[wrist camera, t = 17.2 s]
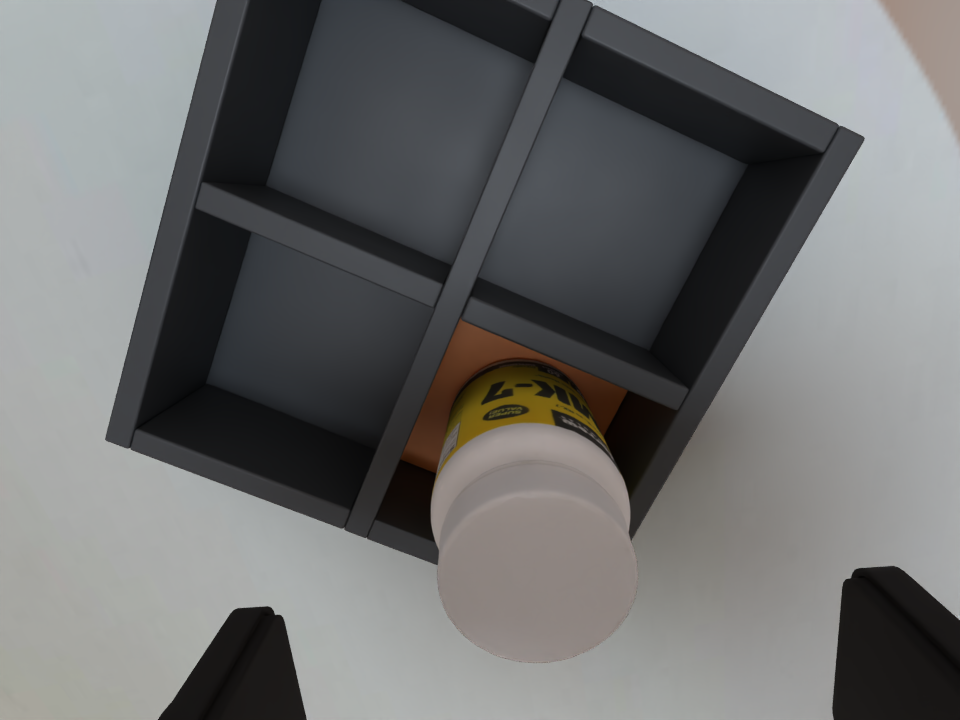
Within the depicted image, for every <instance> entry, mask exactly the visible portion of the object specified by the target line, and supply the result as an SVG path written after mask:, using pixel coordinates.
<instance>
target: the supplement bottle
mask: <svg viewBox="0 0 960 720" xmlns="http://www.w3.org/2000/svg"><path fill="white" fill-rule="evenodd" d="M431 525H432V531H433V535H434V539H435V542H436V544H437V547H438V549H439V559H438V570H437V580H438V589H439V594H440V598H441V601H442V604H443V606H444V609H445V611H446V613H447V615H448V617H449V618H450V620H451V621H452V622H453V624H454V625H455V626H456V628H457V629H458V630H459V631H460V632H461V633H462V634H463V635H464V636H465V637H466V638H467V639H469V640H470V641H471V642H473V643H474V644H475V645H477V646H478V647H480V648H482V649H484V650H486V651H487V652H489V653H491V654H493V655H496V656H499V657H502V658H505V659H510V660H514V661H519V662H528V663H546V662H554V661H559V660H565V659H568V658H572V657H575V656H577V655H579V654H581V653H584V652H586V651H588V650H590V649H592V648H594V647H596V646H597V645H599V644H600V643H602V642H603V641H604V640H606V639H607V638H608V637H610V636H611V635H612V634H613V633H614V632H615V631H616V629H617V628H618V627H619V626H620V625H621V623H622V622H623V621H624V619H625V618H626V616H627V615H628V613H629V611H630V609H631V607H632V604H633V602H634V599H635V596H636V592H637V586H638V566H637V559H636V555H635V551H634V548H633V545H632V542H631V540H630V536H629V533H628V532H629V525H630V503H629V497H628V492H627V489H626V485H625V482H624V479H623V477H622V475H621V473H620V470H619V468H618V466H617V464H616V462H615V461H614V459H613V456H612V454H611V452H610V450H609V448H608V446H607V444H606V442H605V439H604V437H603V435H602V433H601V431H600V430H599V427H598V425H597V423H596V421H595V419H594V417H593V414H592V412H591V411H590V408H589V406H588V404H587V402H586V400H585V398H584V396H583V395H582V393H581V392H580V390H579V388H578V387H577V386H576V385H575V383H574V382H573V381H572V380H571V379H570V378H569V377H568V376H566V375H565V374H564V373H563V372H561V371H560V370H558V369H556V368H554V367H553V366H550V365H548V364H545V363H542V362H539V361H534V360H526V359H513V360H505V361H501V362H497V363H494V364H491V365H489V366H487V367H485V368H483V369H481V370H480V371H478V372H477V373H475V374H474V375H473V376H472V377H471V378H470V379H469V380H468V381H467V382H466V383H465V384H464V385H463V386H462V388H461V389H460V391H459V392H458V394H457V396H456V397H455V400H454V402H453V405H452V407H451V411H450V415H449V420H448V424H447V428H446V433H445V438H444V442H443V447H442V451H441V456H440V460H439V465H438V469H437V474H436V479H435V483H434V487H433V492H432V498H431Z"/></svg>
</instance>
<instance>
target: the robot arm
mask: <svg viewBox="0 0 960 720" xmlns="http://www.w3.org/2000/svg"><path fill="white" fill-rule="evenodd" d="M832 710H833V718H834V720H960V620H959V619H958V618H956V617H955V616H954V615H953V614H952V613H951V612H950V611H949V610H947V609H946V608H945V607H944V606H943V605H942V604H941V603H940V602H938V601H937V600H936V599H935V598H934V597H933V596H932V595H930V594H929V593H928V592H927V591H926V590H925V589H924V588H923V587H921V586H920V585H919V584H918V583H917V582H916V581H915V580H914V579H912V578H911V577H910V576H909V575H908V574H907V573H906V572H904V571H903V570H902V569H900V568H899V567H895V566H887V567H872V568H859V569H856V570H854V572H853V573H852V577H851V579H846V580H845V581H844V582H843V587H842V599H841V611H840V623H839V635H838V647H837V659H836V671H835V683H834V695H833V707H832ZM158 720H307V719H306V715H305V710H304V706H303V701H302V697H301V692H300V688H299V684H298V679H297V675H296V670H295V666H294V662H293V657H292V653H291V648H290V644H289V640H288V635H287V631H286V626H285V622H284V619H283V617H282V616H281V615H275V614H274V611H273V609H272V608H271V607H268V606H267V607H252V608H237V609H235V610H233V612H232V613H231V614H230V615H229V617H228V618H227V620H226V621H225V623H224V624H223V626H222V627H221V629H220V630H219V632H218V633H217V635H216V636H215V638H214V639H213V641H212V642H211V644H210V645H209V647H208V648H207V650H206V651H205V653H204V654H203V656H202V657H201V659H200V660H199V662H198V663H197V665H196V666H195V668H194V669H193V671H192V672H191V674H190V675H189V677H188V678H187V680H186V681H185V683H184V684H183V686H182V688H181V689H180V691H179V692H178V694H177V695H176V697H175V698H174V700H173V701H172V703H170V705H169V706H168V707H167V708H166V709H165V711H164V712H163V713H162V714H161V716H160V717H159V719H158Z"/></svg>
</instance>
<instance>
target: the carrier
mask: <svg viewBox="0 0 960 720" xmlns="http://www.w3.org/2000/svg"><path fill="white" fill-rule="evenodd" d="M838 126H839V125H838V124H837V123H835V122H833V121H831V120H829V119H827V118H825V117H823V116H821V115H819V114H817V113H815V112H813V111H810V110H808V109H806V108H804V107H802V106H800V105H798V104H796V103H794V102H792V101H790V100H788V99H786V98H784V97H782V96H780V95H778V94H776V93H774V92H772V91H770V90H768V89H766V88H764V87H762V86H760V85H758V84H756V83H753V82H751V81H749V80H747V79H745V78H743V77H741V76H739V75H737V74H735V73H733V72H731V71H729V70H727V69H725V68H723V67H721V66H719V65H717V64H715V63H713V62H711V61H709V60H707V59H705V58H703V57H701V56H698V55H696V54H694V53H692V52H690V51H688V50H686V49H684V48H682V47H680V46H678V45H676V44H674V43H672V42H670V41H668V40H666V39H664V38H662V37H660V36H658V35H656V34H654V33H652V32H650V31H648V30H646V29H643V28H641V27H639V26H637V25H635V24H633V23H631V22H629V21H627V20H625V19H623V18H621V17H619V16H617V15H615V14H613V13H611V12H609V11H607V10H605V9H603V8H601V7H599V6H593V4H592V2H590V1H588V0H217V2H216V6H215V10H214V14H213V18H212V22H211V25H210V29H209V33H208V37H207V41H206V45H205V49H204V53H203V57H202V61H201V65H200V69H199V73H198V76H197V80H196V84H195V88H194V92H193V96H192V100H191V104H190V108H189V112H188V116H187V120H186V124H185V128H184V131H183V135H182V139H181V143H180V147H179V151H178V155H177V159H176V163H175V167H174V171H173V175H172V179H171V182H170V186H169V190H168V194H167V198H166V202H165V206H164V210H163V214H162V218H161V222H160V226H159V230H158V234H157V237H156V241H155V245H154V249H153V253H152V257H151V261H150V265H149V269H148V273H147V277H146V281H145V285H144V288H143V292H142V296H141V300H140V304H139V308H138V312H137V316H136V320H135V324H134V328H133V332H132V336H131V340H130V343H129V347H128V351H127V355H126V359H125V363H124V367H123V371H122V375H121V379H120V383H119V387H118V391H117V394H116V398H115V402H114V406H113V410H112V414H111V418H110V422H109V426H108V430H107V434H106V438H105V440H106V441H108V442H111V443H114V444H116V445H119V446H122V447H124V448H131V450H133V451H136V452H138V453H141V454H144V455H146V456H149V457H152V458H154V459H157V460H160V461H162V462H165V463H168V464H170V465H173V466H176V467H178V468H181V469H184V470H186V471H189V472H192V473H194V474H197V475H200V476H202V477H205V478H208V479H210V480H213V481H216V482H218V483H221V484H224V485H226V486H229V487H232V488H234V489H237V490H240V491H242V492H245V493H248V494H250V495H253V496H256V497H258V498H261V499H264V500H266V501H269V502H272V503H274V504H277V505H280V506H282V507H285V508H288V509H291V510H293V511H296V512H299V513H301V514H304V515H307V516H309V517H312V518H315V519H317V520H320V521H323V522H325V523H328V524H331V525H333V526H336V527H339V528H344V527H345V531H348V532H351V533H353V534H356V535H359V536H361V537H364V538H366V537H367V539H369V540H372V541H375V542H377V543H380V544H383V545H385V546H388V547H391V548H393V549H396V550H399V551H401V552H404V553H407V554H409V555H412V556H415V557H417V558H420V559H423V560H425V561H428V562H431V563H433V564H436V565H438V559H439V549H438V547H437V544H436V542H435V539H434V535H433V531H432V525H431V498H432V492H433V487H434V483H435V479H436V474H437V469H438V465H439V460H440V456H441V451H442V447H443V442H444V438H445V433H446V428H447V424H448V420H449V415H450V411H451V407H452V405H453V402H454V400H455V397H456V396H457V394H458V392H459V391H460V389H461V388H462V386H463V385H464V384H465V383H466V382H467V381H468V380H469V379H470V378H471V377H472V376H473V375H474V374H475V373H477V372H478V371H480V370H481V369H483V368H485V367H487V366H489V365H491V364H494V363H497V362H501V361H505V360H513V359H526V360H534V361H539V362H542V363H545V364H548V365H550V366H553V367H554V368H556V369H558V370H560V371H561V372H563V373H564V374H565V375H566V376H568V377H569V378H570V379H571V380H572V381H573V382H574V383H575V385H576V386H577V387H578V388H579V390H580V392H581V393H582V395H583V396H584V398H585V400H586V402H587V404H588V406H589V408H590V411H591V412H592V414H593V417H594V419H595V421H596V423H597V425H598V427H599V430H600V431H601V433H602V435H603V437H604V439H605V442H606V444H607V446H608V448H609V450H610V452H611V454H612V456H613V459H614V461H615V462H616V464H617V466H618V468H619V470H620V473H621V475H622V477H623V479H624V482H625V485H626V489H627V492H628V497H629V503H630V525H629V532H628V533H629V536H630V540H632V538H633V536H634V535H635V533H636V531H637V530H638V528H639V526H640V524H641V523H642V521H643V519H644V518H645V516H646V514H647V512H648V511H649V509H650V507H651V505H652V504H653V502H654V500H655V499H656V497H657V495H658V493H659V492H660V490H661V488H662V487H663V485H664V483H665V481H666V480H667V478H668V476H669V475H670V473H671V471H672V469H673V468H674V466H675V464H676V463H677V461H678V459H679V457H680V456H681V454H682V452H683V451H684V449H685V447H686V445H687V444H688V442H689V440H690V439H691V437H692V435H693V433H694V432H695V430H696V428H697V426H698V425H699V423H700V421H701V420H702V418H703V416H704V414H705V413H706V411H707V409H708V408H709V406H710V404H711V402H712V401H713V399H714V397H715V396H716V394H717V392H718V390H719V389H720V387H721V385H722V384H723V382H724V380H725V378H726V377H727V375H728V373H729V372H730V370H731V368H732V366H733V365H734V363H735V361H736V360H737V358H738V356H739V354H740V353H741V351H742V349H743V348H744V346H745V344H746V342H747V341H748V339H749V337H750V335H751V334H752V332H753V330H754V329H755V327H756V325H757V323H758V322H759V320H760V318H761V317H762V315H763V313H764V311H765V310H766V308H767V306H768V305H769V303H770V301H771V299H772V298H773V296H774V294H775V293H776V291H777V289H778V287H779V286H780V284H781V282H782V281H783V279H784V277H785V275H786V274H787V272H788V270H789V269H790V267H791V265H792V263H793V262H794V260H795V258H796V256H797V255H798V253H799V251H800V250H801V248H802V246H803V244H804V243H805V241H806V239H807V238H808V236H809V234H810V232H811V231H812V229H813V227H814V226H815V224H816V222H817V220H818V219H819V217H820V215H821V214H822V212H823V210H824V208H825V207H826V205H827V203H828V202H829V200H830V198H831V196H832V195H833V193H834V191H835V190H836V188H837V186H838V184H839V183H840V181H841V179H842V177H843V176H844V174H845V172H846V171H847V169H848V167H849V165H850V164H851V162H852V160H853V159H854V157H855V155H856V153H857V152H858V150H859V148H860V147H861V145H862V143H863V141H864V139H865V138H864V137H863V136H861V135H859V134H857V133H855V132H853V131H851V130H849V129H847V128H845V127H843V126H839V127H838Z"/></svg>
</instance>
